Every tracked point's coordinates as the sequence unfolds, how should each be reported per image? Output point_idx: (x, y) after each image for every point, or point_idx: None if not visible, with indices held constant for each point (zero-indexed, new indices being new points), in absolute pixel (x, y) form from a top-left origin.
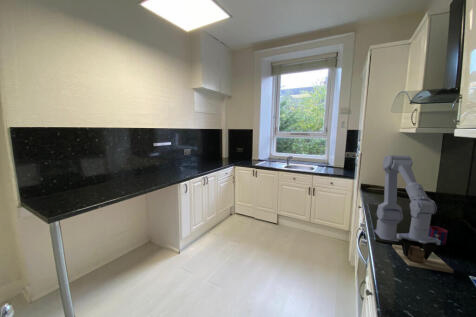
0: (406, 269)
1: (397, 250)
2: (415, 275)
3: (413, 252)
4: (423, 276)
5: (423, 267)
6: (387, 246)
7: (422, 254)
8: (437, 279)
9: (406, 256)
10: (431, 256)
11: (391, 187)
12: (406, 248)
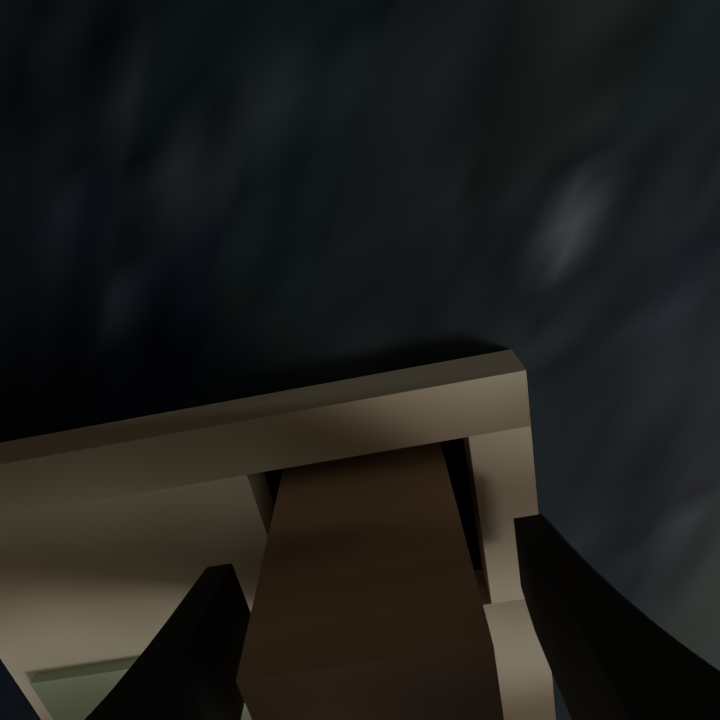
0: (595, 200)
1: None
2: (508, 56)
3: (470, 600)
4: (371, 103)
5: (293, 394)
6: None
7: (285, 614)
8: (161, 131)
9: (528, 516)
10: None
11: None
12: (668, 654)
